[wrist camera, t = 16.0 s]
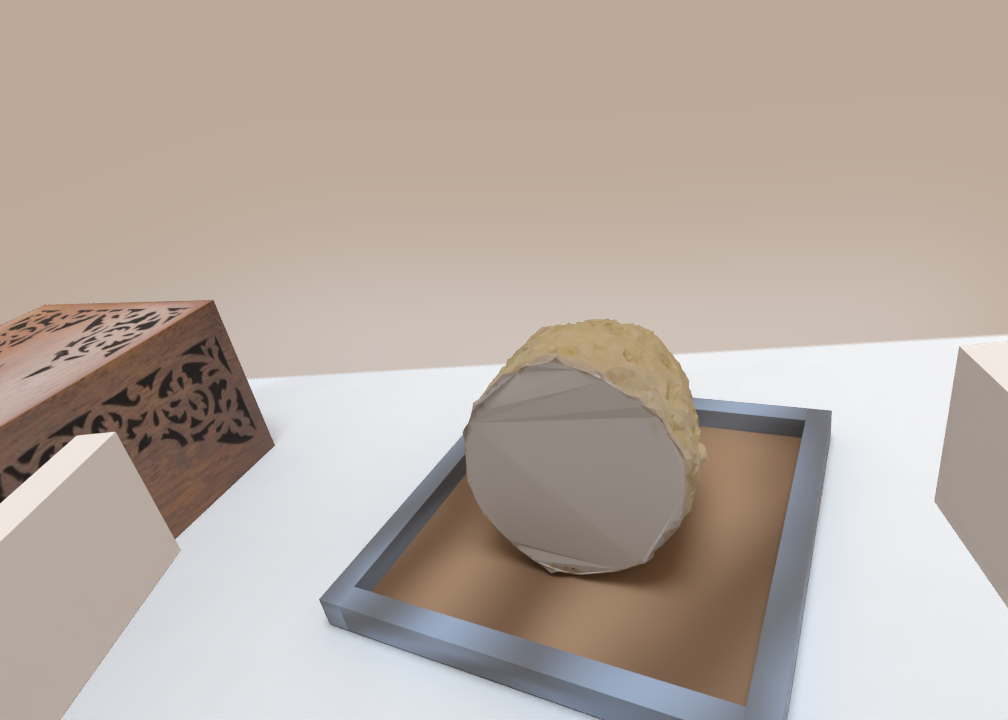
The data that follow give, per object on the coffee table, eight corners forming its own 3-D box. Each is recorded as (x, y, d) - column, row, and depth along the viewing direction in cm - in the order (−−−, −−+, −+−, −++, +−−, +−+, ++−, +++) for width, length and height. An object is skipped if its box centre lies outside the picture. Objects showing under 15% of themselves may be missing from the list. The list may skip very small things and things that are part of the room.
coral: (374, 471, 23) (471, 262, 28) (499, 580, 30) (559, 397, 35) (637, 501, 18) (698, 241, 23) (713, 624, 25) (747, 403, 30)
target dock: (329, 623, 27) (318, 599, 26) (514, 400, 40) (510, 380, 39) (777, 780, 19) (777, 750, 18) (830, 435, 31) (831, 410, 31)
